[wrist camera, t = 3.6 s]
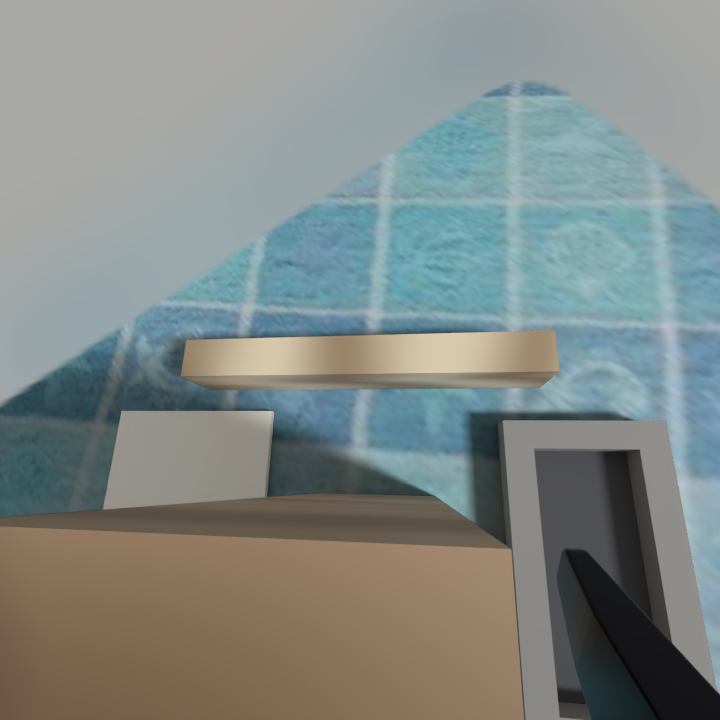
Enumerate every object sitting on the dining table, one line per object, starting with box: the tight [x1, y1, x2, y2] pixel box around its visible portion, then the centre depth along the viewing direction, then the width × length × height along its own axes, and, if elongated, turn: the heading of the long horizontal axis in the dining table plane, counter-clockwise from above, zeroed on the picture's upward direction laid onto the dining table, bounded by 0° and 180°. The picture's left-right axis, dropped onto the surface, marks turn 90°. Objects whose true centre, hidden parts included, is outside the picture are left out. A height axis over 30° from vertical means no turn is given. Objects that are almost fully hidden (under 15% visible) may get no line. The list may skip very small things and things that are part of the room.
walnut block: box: [0, 493, 524, 720], centre depth 9 cm, size 4×4×14 cm
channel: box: [181, 330, 560, 390], centre depth 14 cm, size 14×16×2 cm
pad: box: [103, 411, 274, 510], centre depth 17 cm, size 7×11×1 cm, turn 179°
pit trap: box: [497, 420, 717, 720], centre depth 14 cm, size 6×10×1 cm, turn 179°
